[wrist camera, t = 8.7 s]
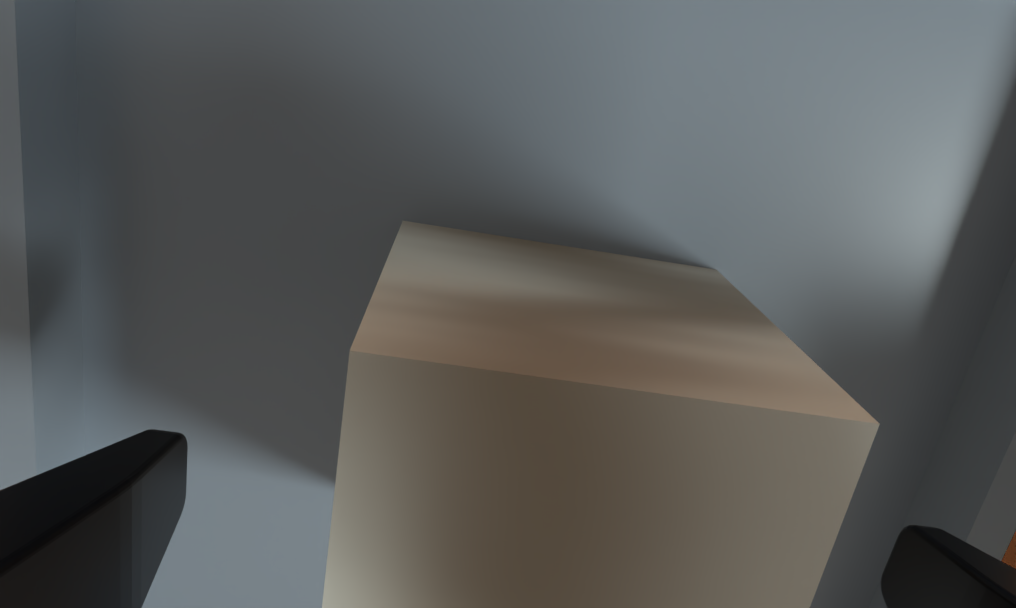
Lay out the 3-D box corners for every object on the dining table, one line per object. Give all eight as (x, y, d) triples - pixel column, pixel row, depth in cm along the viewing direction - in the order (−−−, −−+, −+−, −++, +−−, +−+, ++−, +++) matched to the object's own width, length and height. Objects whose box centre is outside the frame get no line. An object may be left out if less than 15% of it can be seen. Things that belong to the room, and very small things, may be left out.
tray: (1151, -32, 11) (1291, -47, 9) (821, 750, 16) (866, 843, 14) (33, -267, 9) (-79, -346, 8) (66, 679, 15) (6, 773, 13)
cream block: (716, 270, 12) (880, 423, 7) (644, 530, 13) (737, 798, 9) (403, 220, 11) (349, 350, 6) (367, 496, 13) (305, 761, 8)
